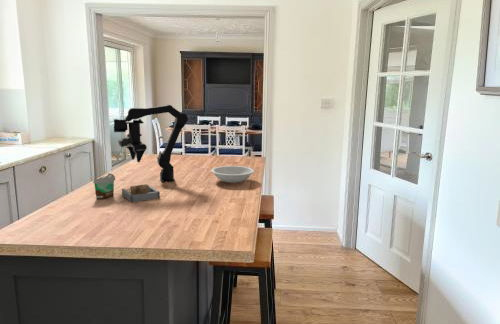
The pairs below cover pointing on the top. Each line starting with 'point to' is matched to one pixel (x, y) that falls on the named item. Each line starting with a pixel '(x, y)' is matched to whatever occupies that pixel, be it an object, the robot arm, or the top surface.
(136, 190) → the wooden t-shaped block
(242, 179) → the soup bowl
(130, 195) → the corral
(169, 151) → the robot arm
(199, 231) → the top surface
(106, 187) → the food container
